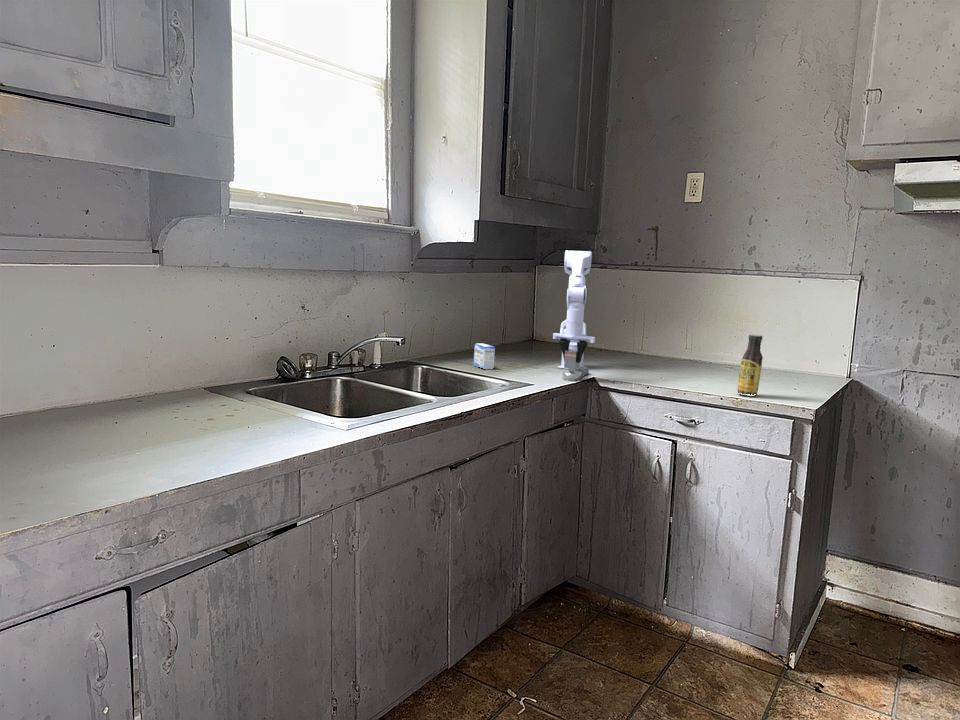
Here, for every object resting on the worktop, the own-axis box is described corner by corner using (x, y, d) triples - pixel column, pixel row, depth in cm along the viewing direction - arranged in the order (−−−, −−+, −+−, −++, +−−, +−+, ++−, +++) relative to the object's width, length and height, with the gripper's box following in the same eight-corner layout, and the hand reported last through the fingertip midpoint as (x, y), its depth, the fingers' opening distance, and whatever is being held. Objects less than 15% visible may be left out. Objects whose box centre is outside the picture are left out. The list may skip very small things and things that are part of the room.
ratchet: (576, 372, 244) (577, 358, 243) (592, 374, 241) (593, 360, 240) (559, 379, 228) (560, 365, 228) (576, 381, 226) (577, 367, 225)
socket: (568, 365, 231) (569, 348, 230) (579, 367, 230) (580, 350, 228) (563, 367, 228) (564, 350, 227) (575, 369, 226) (576, 351, 225)
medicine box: (473, 366, 247) (474, 343, 246) (483, 365, 249) (484, 343, 248) (483, 370, 240) (484, 346, 239) (494, 369, 242) (495, 346, 241)
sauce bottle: (732, 394, 216) (739, 333, 212) (743, 392, 220) (750, 333, 216) (751, 398, 211) (758, 336, 207) (762, 396, 214) (769, 335, 211)
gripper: (550, 321, 226) (548, 360, 228) (591, 325, 220) (588, 365, 222) (558, 319, 232) (555, 358, 234) (598, 323, 226) (595, 362, 228)
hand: (572, 361), depth 229 cm, fingers closed on socket, 4 cm apart
